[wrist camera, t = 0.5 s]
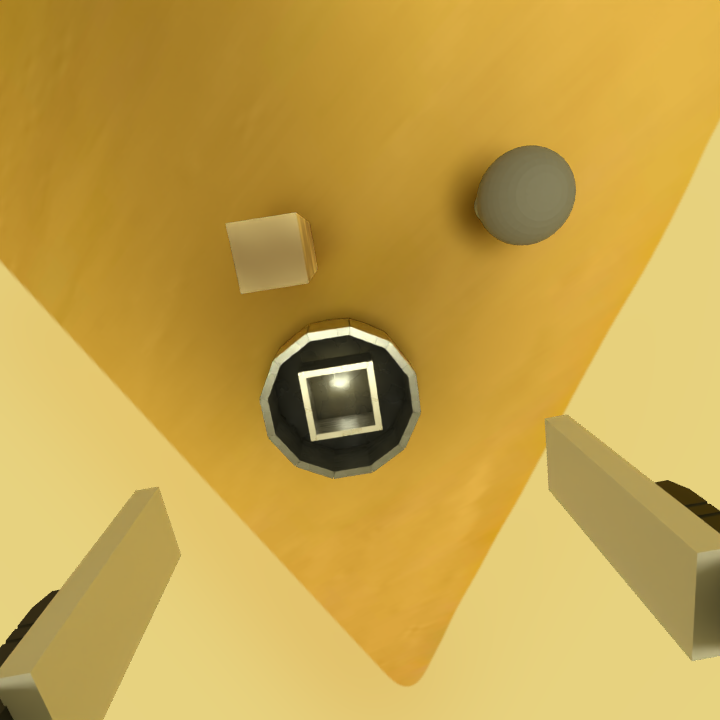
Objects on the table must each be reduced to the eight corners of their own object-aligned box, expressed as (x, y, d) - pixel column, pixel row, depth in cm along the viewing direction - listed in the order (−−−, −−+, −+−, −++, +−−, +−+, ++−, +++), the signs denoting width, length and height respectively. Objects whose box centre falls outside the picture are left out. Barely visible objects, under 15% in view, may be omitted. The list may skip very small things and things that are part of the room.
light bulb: (470, 257, 37) (518, 264, 27) (438, 189, 35) (477, 169, 26) (537, 221, 36) (610, 214, 27) (508, 150, 35) (574, 115, 25)
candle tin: (257, 331, 37) (247, 342, 33) (400, 308, 38) (409, 317, 33) (285, 461, 40) (279, 487, 36) (417, 439, 41) (427, 463, 36)
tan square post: (264, 229, 35) (225, 223, 23) (309, 222, 35) (296, 212, 23) (273, 275, 36) (240, 294, 24) (317, 268, 36) (308, 283, 24)
